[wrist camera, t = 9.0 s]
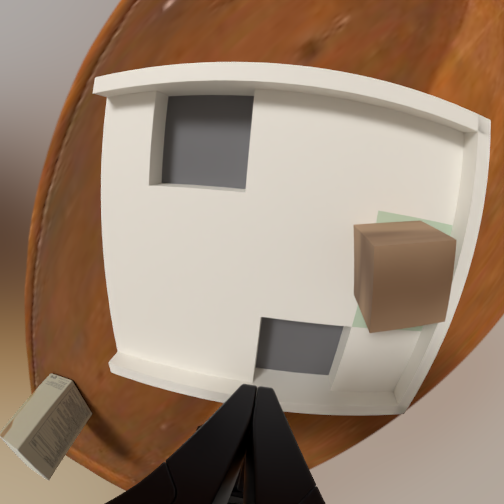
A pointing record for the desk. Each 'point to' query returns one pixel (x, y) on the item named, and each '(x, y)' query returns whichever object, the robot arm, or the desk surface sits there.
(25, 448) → the skincare box
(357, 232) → the block
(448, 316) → the platform
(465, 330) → the desk surface
